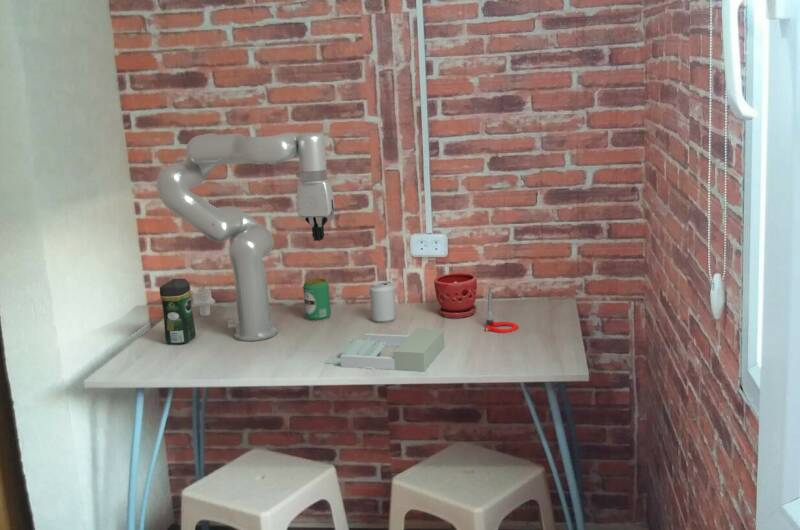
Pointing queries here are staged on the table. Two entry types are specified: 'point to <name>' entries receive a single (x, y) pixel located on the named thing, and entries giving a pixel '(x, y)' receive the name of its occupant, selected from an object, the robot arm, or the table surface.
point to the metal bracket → (358, 350)
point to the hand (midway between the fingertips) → (318, 239)
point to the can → (382, 302)
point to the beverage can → (317, 299)
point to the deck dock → (402, 351)
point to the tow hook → (491, 323)
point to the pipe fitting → (203, 301)
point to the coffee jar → (177, 311)
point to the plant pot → (456, 294)
